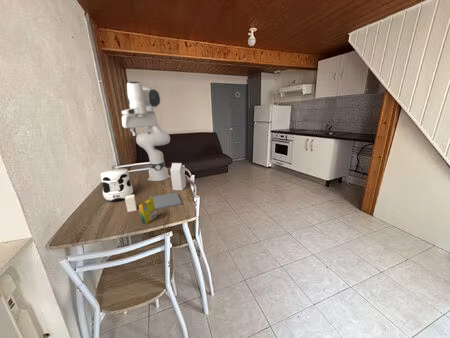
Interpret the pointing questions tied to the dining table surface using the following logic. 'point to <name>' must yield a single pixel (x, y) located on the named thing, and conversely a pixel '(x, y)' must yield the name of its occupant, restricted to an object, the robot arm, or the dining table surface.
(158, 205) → the mat
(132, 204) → the cream block
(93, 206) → the dining table surface
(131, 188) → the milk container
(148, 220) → the crayon box
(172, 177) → the milk carton
